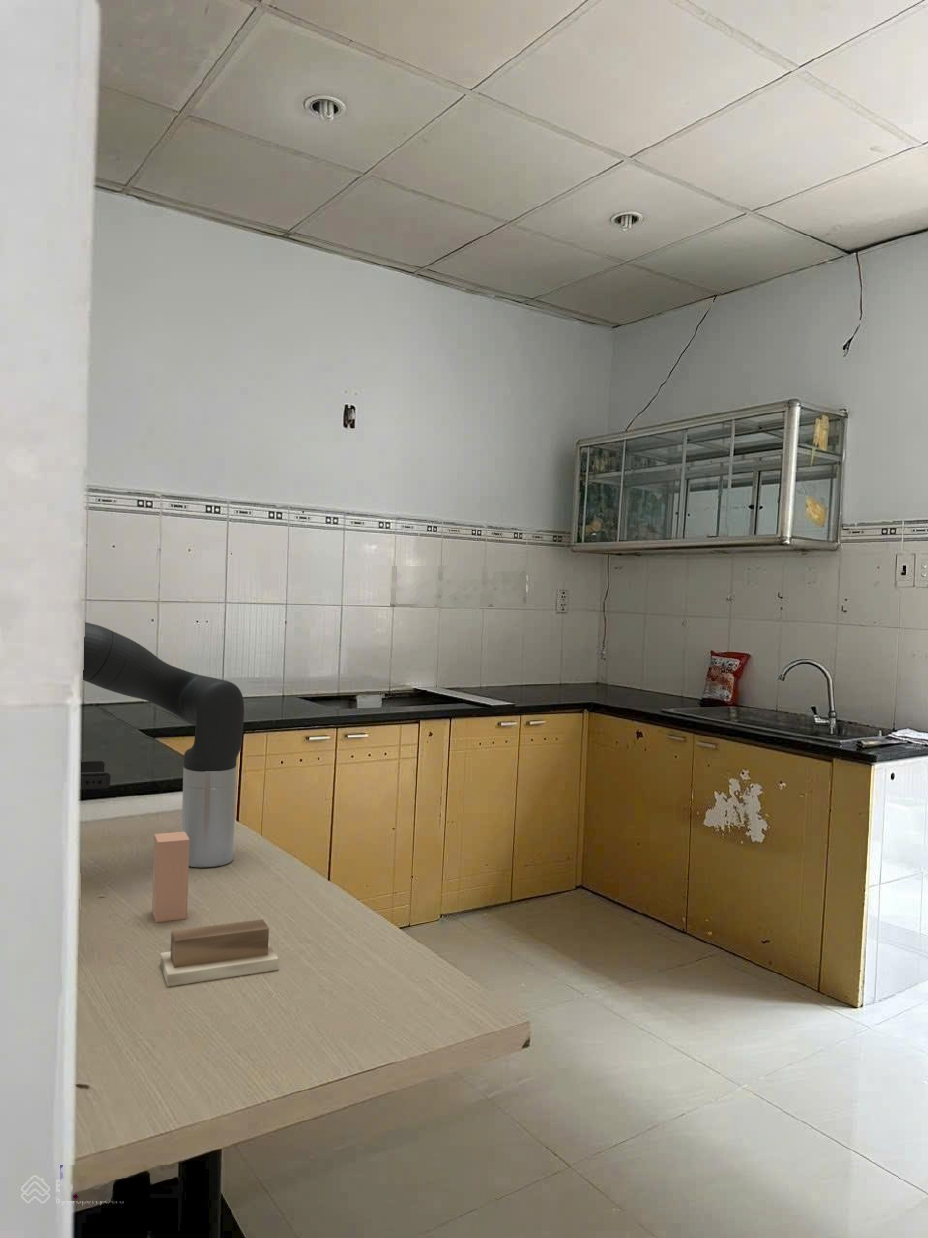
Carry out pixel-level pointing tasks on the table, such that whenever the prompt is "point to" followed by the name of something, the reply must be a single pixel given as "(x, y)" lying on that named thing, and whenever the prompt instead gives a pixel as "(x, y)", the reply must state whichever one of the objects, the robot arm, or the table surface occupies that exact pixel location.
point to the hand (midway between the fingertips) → (107, 773)
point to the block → (170, 876)
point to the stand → (218, 952)
